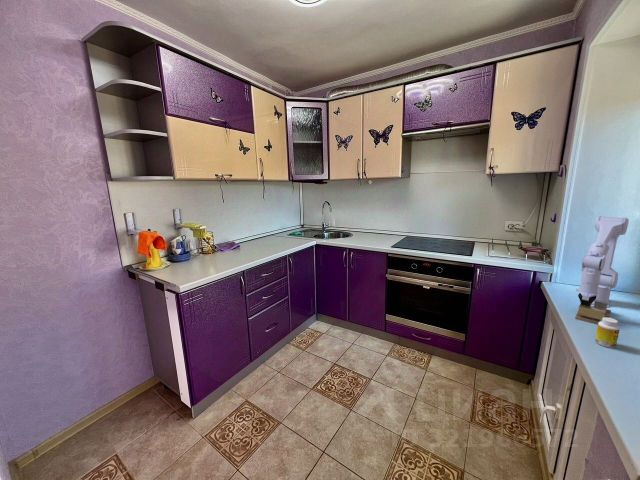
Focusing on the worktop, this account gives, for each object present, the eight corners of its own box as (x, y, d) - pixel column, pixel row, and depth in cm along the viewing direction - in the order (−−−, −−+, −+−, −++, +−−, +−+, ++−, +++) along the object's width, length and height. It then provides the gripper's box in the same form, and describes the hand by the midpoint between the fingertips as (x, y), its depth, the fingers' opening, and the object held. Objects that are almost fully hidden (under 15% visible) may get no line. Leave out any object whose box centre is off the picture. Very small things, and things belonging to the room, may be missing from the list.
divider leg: (578, 313, 121) (580, 304, 120) (603, 319, 115) (605, 310, 114) (577, 315, 119) (579, 306, 118) (603, 322, 113) (605, 312, 112)
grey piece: (593, 307, 126) (595, 298, 125) (606, 310, 123) (607, 301, 122) (589, 319, 116) (591, 309, 115) (603, 322, 113) (605, 312, 112)
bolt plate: (581, 305, 131) (581, 303, 130) (610, 312, 123) (611, 309, 123) (575, 318, 119) (575, 316, 119) (607, 327, 111) (608, 324, 111)
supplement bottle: (614, 350, 97) (619, 325, 95) (592, 343, 101) (597, 319, 99) (617, 344, 100) (622, 320, 98) (596, 338, 104) (601, 314, 102)
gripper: (579, 275, 125) (575, 302, 127) (574, 284, 115) (570, 312, 118) (601, 279, 119) (595, 307, 122) (597, 288, 110) (592, 317, 113)
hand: (584, 310), depth 120 cm, fingers closed
